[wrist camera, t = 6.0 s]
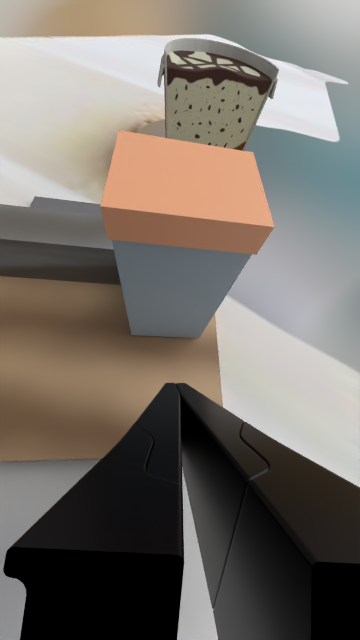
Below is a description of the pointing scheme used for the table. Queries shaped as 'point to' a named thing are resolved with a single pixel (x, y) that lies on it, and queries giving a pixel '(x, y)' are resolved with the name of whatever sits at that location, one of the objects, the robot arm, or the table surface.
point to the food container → (214, 91)
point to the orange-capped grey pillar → (180, 228)
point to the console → (78, 342)
